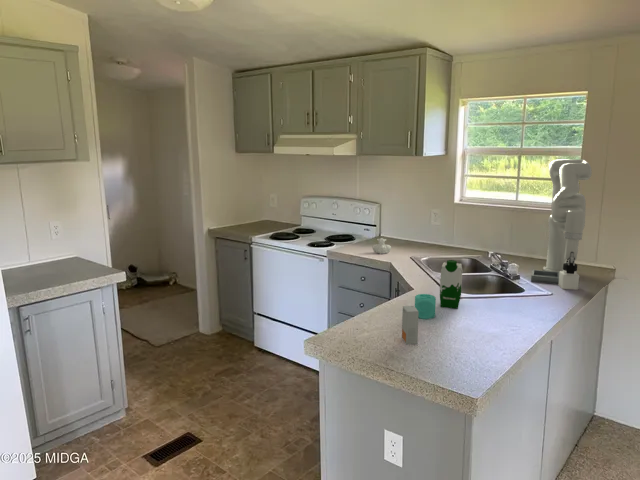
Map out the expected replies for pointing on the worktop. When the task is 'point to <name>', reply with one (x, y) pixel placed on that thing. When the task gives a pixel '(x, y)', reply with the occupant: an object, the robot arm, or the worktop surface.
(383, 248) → the white lobed vase
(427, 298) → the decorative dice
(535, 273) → the tray
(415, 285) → the worktop surface
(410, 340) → the skincare box
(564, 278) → the medicine bottle
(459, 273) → the milk carton
